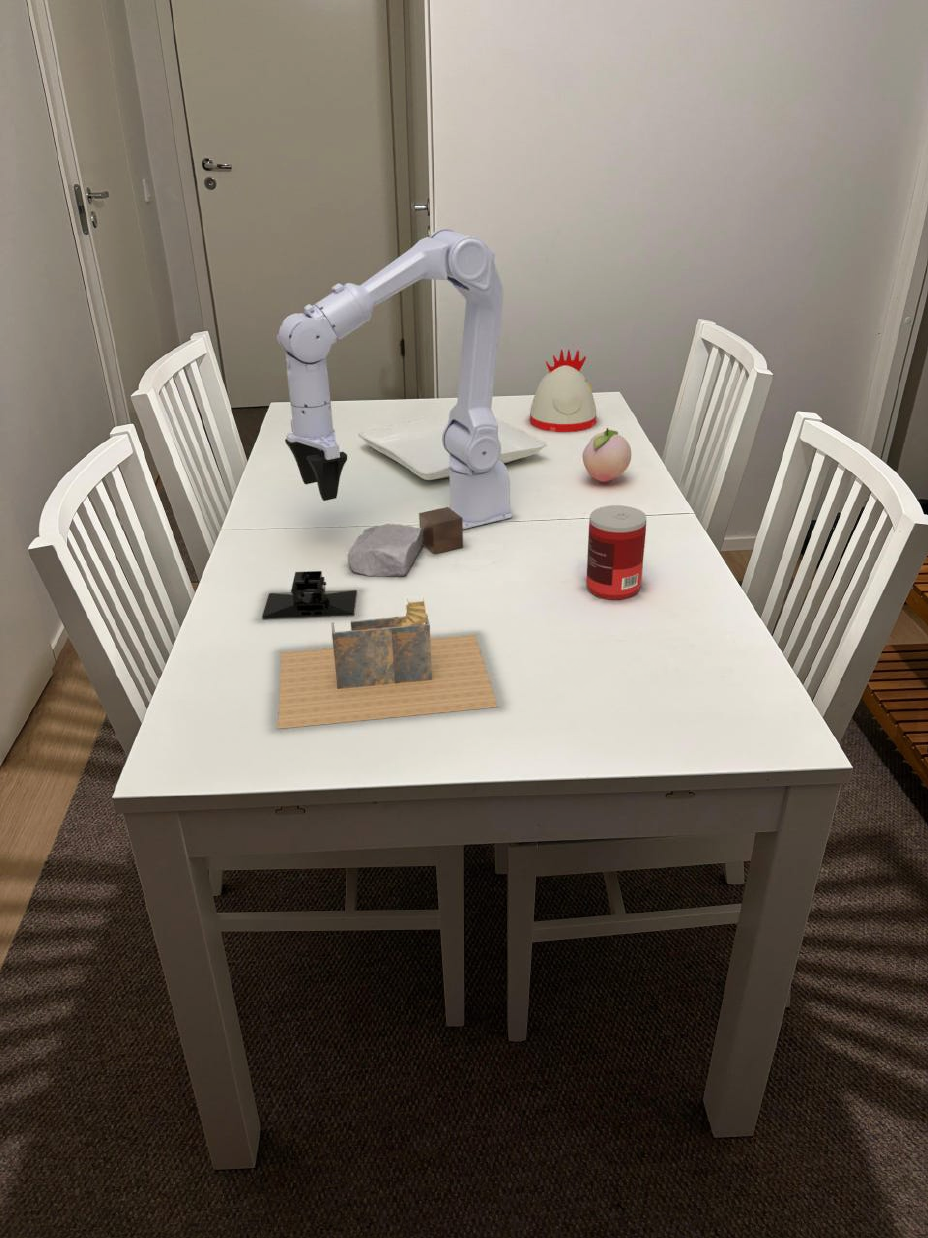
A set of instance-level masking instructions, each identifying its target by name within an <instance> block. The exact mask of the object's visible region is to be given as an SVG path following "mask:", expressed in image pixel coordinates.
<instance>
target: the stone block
mask: <svg viewBox="0 0 928 1238" xmlns="http://www.w3.org/2000/svg"><path fill="white" fill-rule="evenodd" d="M423 546H424V545H423V530H422V528H420V527H415V526H411V525H403V524H398V523H385V524H382V525H374V526H373V527H368V528H366V529H364V530H363V532H362V534H359V536H358V537H357V538H356V539H355V541H354V542H353V544H352V546H351V547H350V548H349V551H348V553H347V562H348V563H347V564H348V565H349V567H350V569H351V570H352V572H353V573H357V574H361V575H365V576H367V577H404V576H406V575H407V574H408V572H409V570H410V569H411V567H412V566H413V563H414V562H415V559H416V558H417V556H418V554H419V553H420V551H421V549H422V547H423Z"/></svg>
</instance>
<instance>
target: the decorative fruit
mask: <svg viewBox="0 0 928 1238" xmlns="http://www.w3.org/2000/svg"><path fill="white" fill-rule="evenodd" d="M631 461H632V448H631V444H630V443H629V442H628V440H627V439H626V438H625V437H623V436H621V434H619V431H617V430H613V429H610V428H609V427H607V428H606V430H605V431H603V432H599V433H597V434H594V436H593V437H592V438H591V439H590V440H589V442H588V443H587V444H586V445H585V447H584V449H583V451H582V462H583V465H584V468H585V470H586V471H587V473H588V474H589V476H591V477H592V478H593V479H594V480H596V481H598V482H601V483H606V482H609V481H611V480H614V479H616V478H618V477H619V476H621V475H623V474H624V473H625V472H626V471H627V469H628V467H629V466H630V465H631Z"/></svg>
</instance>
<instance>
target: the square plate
mask: <svg viewBox="0 0 928 1238" xmlns="http://www.w3.org/2000/svg"><path fill="white" fill-rule="evenodd" d="M495 419H496V421H497V424H498V439H499V442H500V444H501V455H500V458H499V460H500V461H501V462H503V463H504V465H505V464H509V463H511V462H513V461H517V460H520V459H524V458H527V457H531V456H533V455H535V454H537V453H539V452H540V451H542V450H543V449H544V448H545V447H547V446H548V443H547V442H545V441H543V440H541V439H539V438H538V437H536V436H534V435H532V434H530V433H527V432H526V431H523V430H521V429H519V428H518V427H515V426H514V425H511V424H509V423H507V422H505V421H503V420H500V419H499V418H496V417H495ZM448 421H449V413H445V414H439V415H433V416H429V417H423V418H419V419H414V420H410V421H404V422H400V423H396V424H393V425H387V426H384V427H379V428H375V429H372V430H371V429H370V430H366V431H362V432H359V433H358V434H357V435H358V437H359V438H361V439H362V440H363V442H365V443H366V444H368V446H370V447H372V448H373V449H375V450H376V451H378V452H379V453H381V454H383V455H385V456H387V457H388V458H390V459H392V460H394V461H396V462H397V463H398V464H400V465H402V466H403V467H404V468H406V469H407V470H409V471H410V472H412V473H413V474H415V475H416V476H418V477H419V478H421V479H422V480H426V481H433V480H438V479H447V478H448V479H449V478H450V476H449V461H450V455H449V453H448V452H447V451H446V450H445V448H444V446H443V444H442V435H443V431H444V429H445V427H446V426H447V424H448Z"/></svg>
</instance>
